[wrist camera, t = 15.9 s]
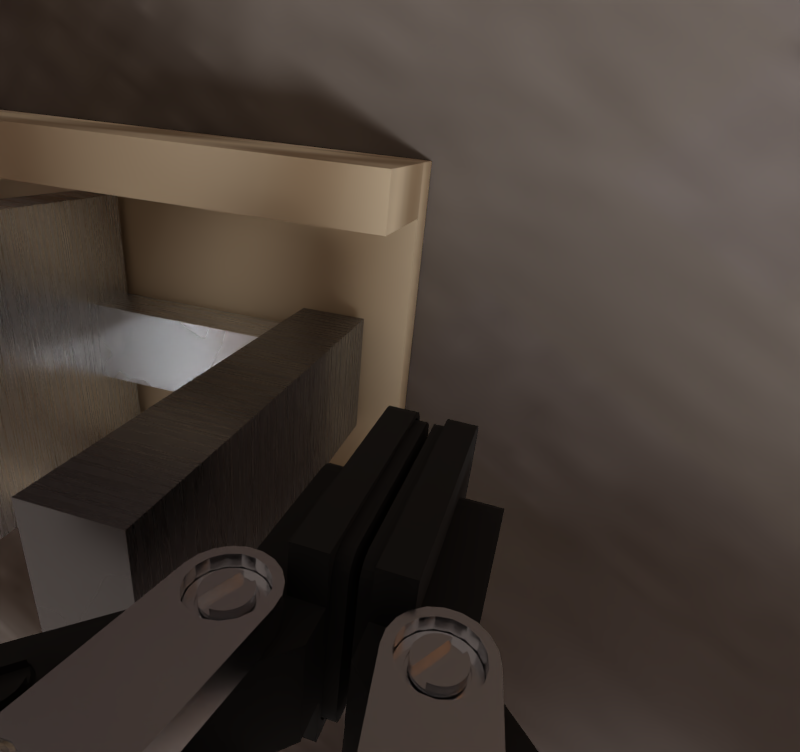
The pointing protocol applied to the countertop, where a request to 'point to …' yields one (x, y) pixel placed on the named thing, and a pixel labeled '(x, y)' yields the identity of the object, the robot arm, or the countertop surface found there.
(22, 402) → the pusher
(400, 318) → the lane
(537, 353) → the countertop surface
